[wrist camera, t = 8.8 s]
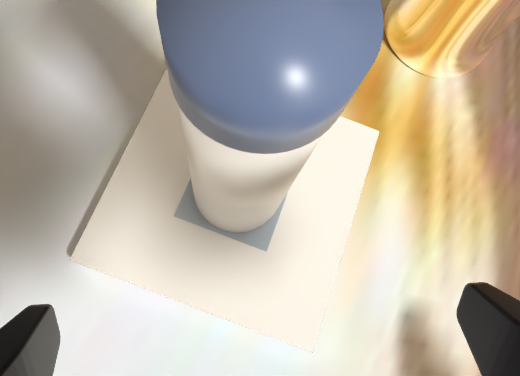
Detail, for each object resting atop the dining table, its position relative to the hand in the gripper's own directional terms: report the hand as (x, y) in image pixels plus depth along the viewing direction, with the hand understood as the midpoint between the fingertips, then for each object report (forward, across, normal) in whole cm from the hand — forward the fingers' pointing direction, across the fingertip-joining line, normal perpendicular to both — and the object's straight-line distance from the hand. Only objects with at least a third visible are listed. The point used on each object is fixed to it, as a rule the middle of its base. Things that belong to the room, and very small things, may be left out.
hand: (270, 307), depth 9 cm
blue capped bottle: (+10, 0, +2) cm, 10 cm away
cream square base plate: (+11, 0, +3) cm, 11 cm away
